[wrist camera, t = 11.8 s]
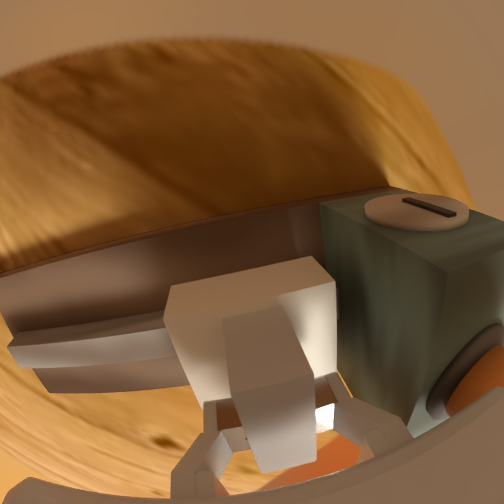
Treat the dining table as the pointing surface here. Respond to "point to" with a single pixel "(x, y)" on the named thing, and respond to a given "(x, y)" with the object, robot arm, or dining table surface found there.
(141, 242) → the rail base
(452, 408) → the button
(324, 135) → the dining table surface
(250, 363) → the carriage
